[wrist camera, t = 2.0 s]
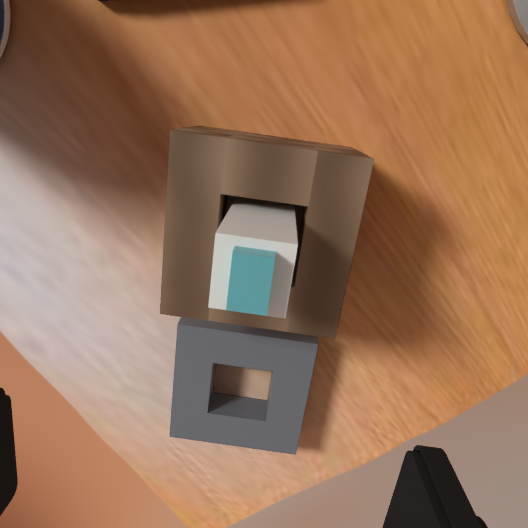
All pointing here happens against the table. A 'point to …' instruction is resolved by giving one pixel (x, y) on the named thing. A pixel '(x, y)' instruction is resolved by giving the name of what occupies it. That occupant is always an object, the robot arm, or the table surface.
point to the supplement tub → (4, 24)
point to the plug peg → (254, 258)
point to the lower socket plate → (234, 407)
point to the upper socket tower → (271, 189)
